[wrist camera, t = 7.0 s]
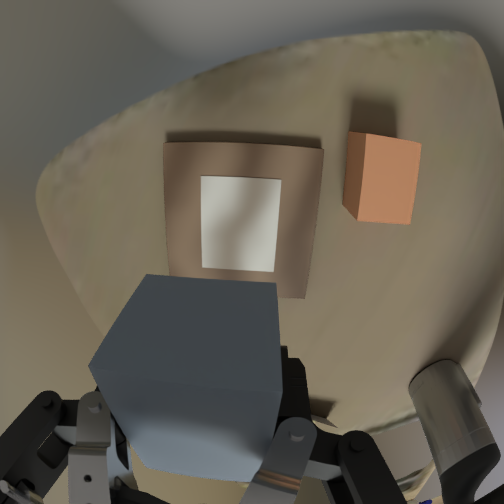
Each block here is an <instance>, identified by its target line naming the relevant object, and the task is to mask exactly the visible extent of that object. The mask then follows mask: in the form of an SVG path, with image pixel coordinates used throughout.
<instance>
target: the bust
mask: <svg viewBox="0 0 504 504" xmlns="http://www.w3.org/2000/svg"><path fill="white" fill-rule="evenodd" d="M407 504H419V502H418V501H417V500H410V501H407Z"/></svg>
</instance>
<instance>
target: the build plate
mask: <svg viewBox="0 0 504 504" xmlns="http://www.w3.org/2000/svg"><path fill="white" fill-rule="evenodd" d="M323 157H324V149H322V148H313V147H304V146H293V145H280V144H266V143H247V142H206V141H195V142H165V143H163V165H164V200H165V220H166V236H167V250H168V262H169V273H170V276H176V277H190V278H205V279H220V280H236V281H254V282H273V283H276V285H277V297H280V298H301V299H305V294H306V288H307V282H308V276H309V269H310V263H311V256H312V249H313V242H314V235H315V228H316V220H317V212H318V204H319V195H320V186H321V177H322V167H323Z"/></svg>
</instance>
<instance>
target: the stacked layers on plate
mask: <svg viewBox="0 0 504 504" xmlns="http://www.w3.org/2000/svg"><path fill="white" fill-rule="evenodd" d="M311 418H312V421H313V422H314V424H315V422H316V421H317V422H320V423H323V424H326V425H330V426H333V427H336V426H335V425H334V424H332V423H331V422H330V421H329V420H327V419H326V418H322V417H319V416H315V415H312V414H311ZM336 428H337V427H336Z"/></svg>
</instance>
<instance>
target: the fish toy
mask: <svg viewBox="0 0 504 504" xmlns="http://www.w3.org/2000/svg"><path fill="white" fill-rule="evenodd" d="M431 503H432V500H426V501H424V502H422V503H421V502H419V504H431Z"/></svg>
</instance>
